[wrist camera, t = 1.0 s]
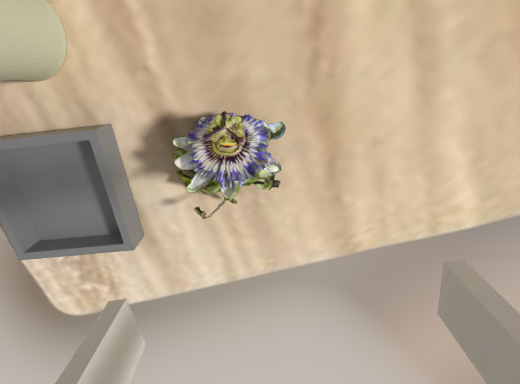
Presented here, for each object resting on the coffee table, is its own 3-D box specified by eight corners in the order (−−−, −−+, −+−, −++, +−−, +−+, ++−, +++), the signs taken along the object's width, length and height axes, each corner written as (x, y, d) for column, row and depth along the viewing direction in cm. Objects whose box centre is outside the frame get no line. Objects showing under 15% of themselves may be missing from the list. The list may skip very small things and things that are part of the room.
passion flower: (236, 114, 39) (291, 94, 29) (253, 193, 41) (311, 200, 31) (150, 129, 33) (181, 110, 23) (175, 219, 35) (214, 238, 25)
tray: (-12, 137, 35) (-40, 144, 31) (111, 124, 34) (95, 129, 31) (38, 245, 40) (18, 260, 37) (144, 235, 40) (134, 250, 36)
